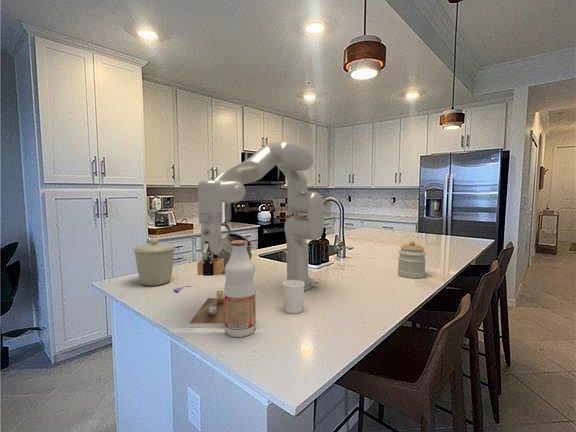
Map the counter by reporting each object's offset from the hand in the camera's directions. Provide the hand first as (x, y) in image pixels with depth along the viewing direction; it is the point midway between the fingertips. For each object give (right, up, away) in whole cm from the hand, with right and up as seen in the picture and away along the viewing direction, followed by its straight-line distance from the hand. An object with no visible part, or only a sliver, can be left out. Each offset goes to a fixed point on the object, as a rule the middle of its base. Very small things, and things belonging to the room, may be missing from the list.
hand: (211, 272), depth 105 cm
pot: (-4, -11, +66) cm, 67 cm away
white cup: (+27, -16, +10) cm, 33 cm away
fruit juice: (+11, -17, -7) cm, 21 cm away
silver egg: (0, -15, +1) cm, 15 cm away
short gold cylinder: (0, -14, +12) cm, 19 cm away
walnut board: (0, -16, +7) cm, 17 cm away
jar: (+88, -12, +56) cm, 105 cm away
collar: (0, 0, 0) cm, 0 cm away
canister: (-36, -13, +44) cm, 58 cm away
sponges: (-17, -15, +30) cm, 37 cm away
